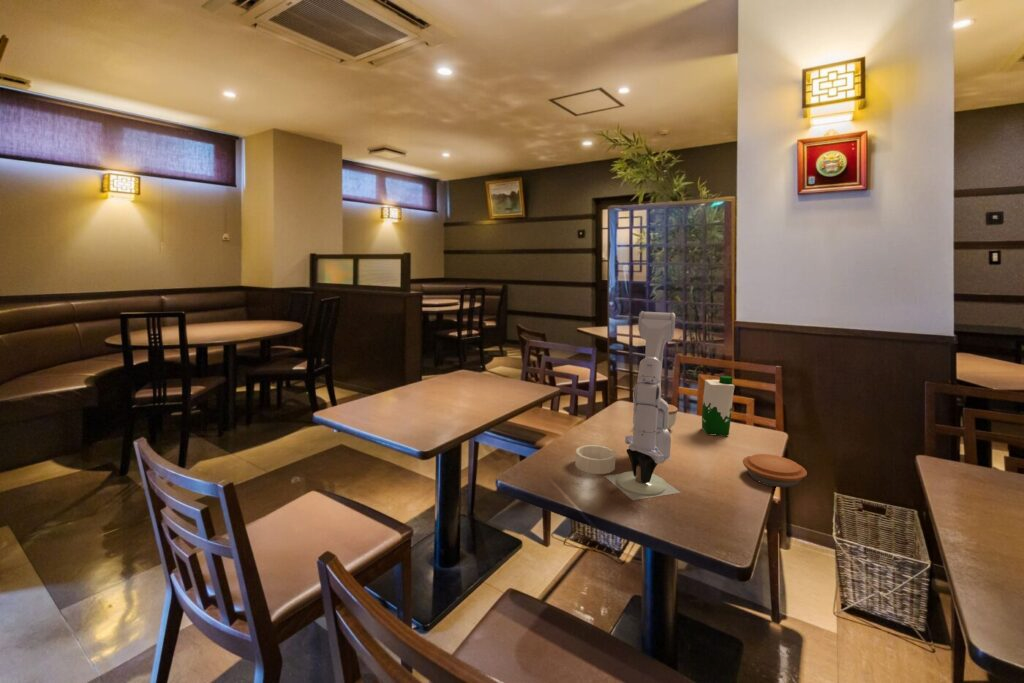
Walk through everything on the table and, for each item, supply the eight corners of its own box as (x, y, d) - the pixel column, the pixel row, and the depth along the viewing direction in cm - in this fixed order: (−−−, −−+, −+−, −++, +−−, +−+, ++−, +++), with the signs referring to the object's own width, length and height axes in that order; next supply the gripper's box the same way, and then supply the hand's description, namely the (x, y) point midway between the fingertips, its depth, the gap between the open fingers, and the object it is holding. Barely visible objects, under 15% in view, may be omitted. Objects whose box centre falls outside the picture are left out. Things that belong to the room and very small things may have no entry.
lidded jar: (678, 434, 165) (680, 408, 164) (645, 431, 167) (647, 405, 166) (674, 424, 176) (675, 399, 174) (643, 422, 178) (645, 397, 176)
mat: (648, 472, 134) (648, 469, 134) (680, 494, 121) (681, 492, 121) (604, 478, 130) (604, 476, 130) (632, 502, 117) (632, 500, 117)
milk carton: (732, 437, 163) (737, 380, 160) (704, 435, 165) (709, 378, 161) (724, 428, 172) (729, 374, 169) (698, 427, 173) (702, 373, 170)
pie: (819, 491, 125) (821, 473, 124) (762, 492, 124) (764, 474, 123) (781, 466, 140) (783, 450, 139) (730, 467, 139) (732, 450, 138)
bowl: (602, 457, 144) (603, 443, 143) (622, 472, 133) (623, 457, 133) (569, 461, 140) (569, 447, 140) (586, 477, 130) (587, 462, 129)
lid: (647, 471, 133) (648, 455, 133) (676, 491, 122) (677, 473, 121) (608, 477, 129) (609, 460, 129) (634, 498, 118) (635, 479, 117)
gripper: (616, 421, 129) (613, 469, 131) (647, 440, 115) (644, 493, 117) (639, 419, 131) (636, 466, 133) (672, 437, 117) (668, 489, 119)
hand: (641, 478), depth 125 cm, fingers closed on lid, 3 cm apart
